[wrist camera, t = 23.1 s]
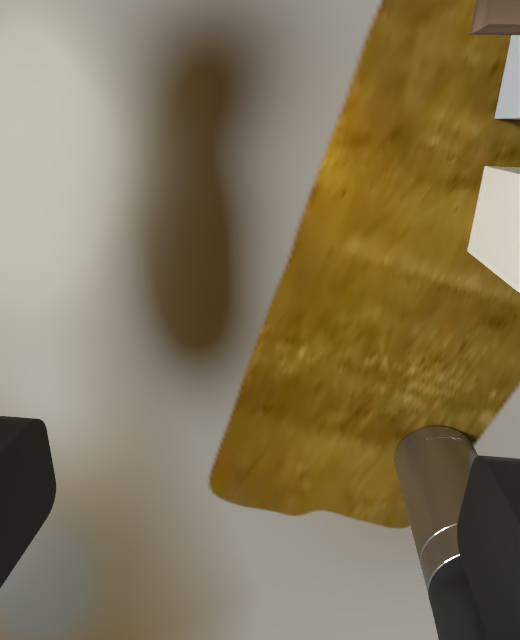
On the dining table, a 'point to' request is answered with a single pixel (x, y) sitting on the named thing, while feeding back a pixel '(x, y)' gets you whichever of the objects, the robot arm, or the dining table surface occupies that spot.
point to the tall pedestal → (498, 224)
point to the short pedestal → (510, 84)
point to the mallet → (496, 17)
